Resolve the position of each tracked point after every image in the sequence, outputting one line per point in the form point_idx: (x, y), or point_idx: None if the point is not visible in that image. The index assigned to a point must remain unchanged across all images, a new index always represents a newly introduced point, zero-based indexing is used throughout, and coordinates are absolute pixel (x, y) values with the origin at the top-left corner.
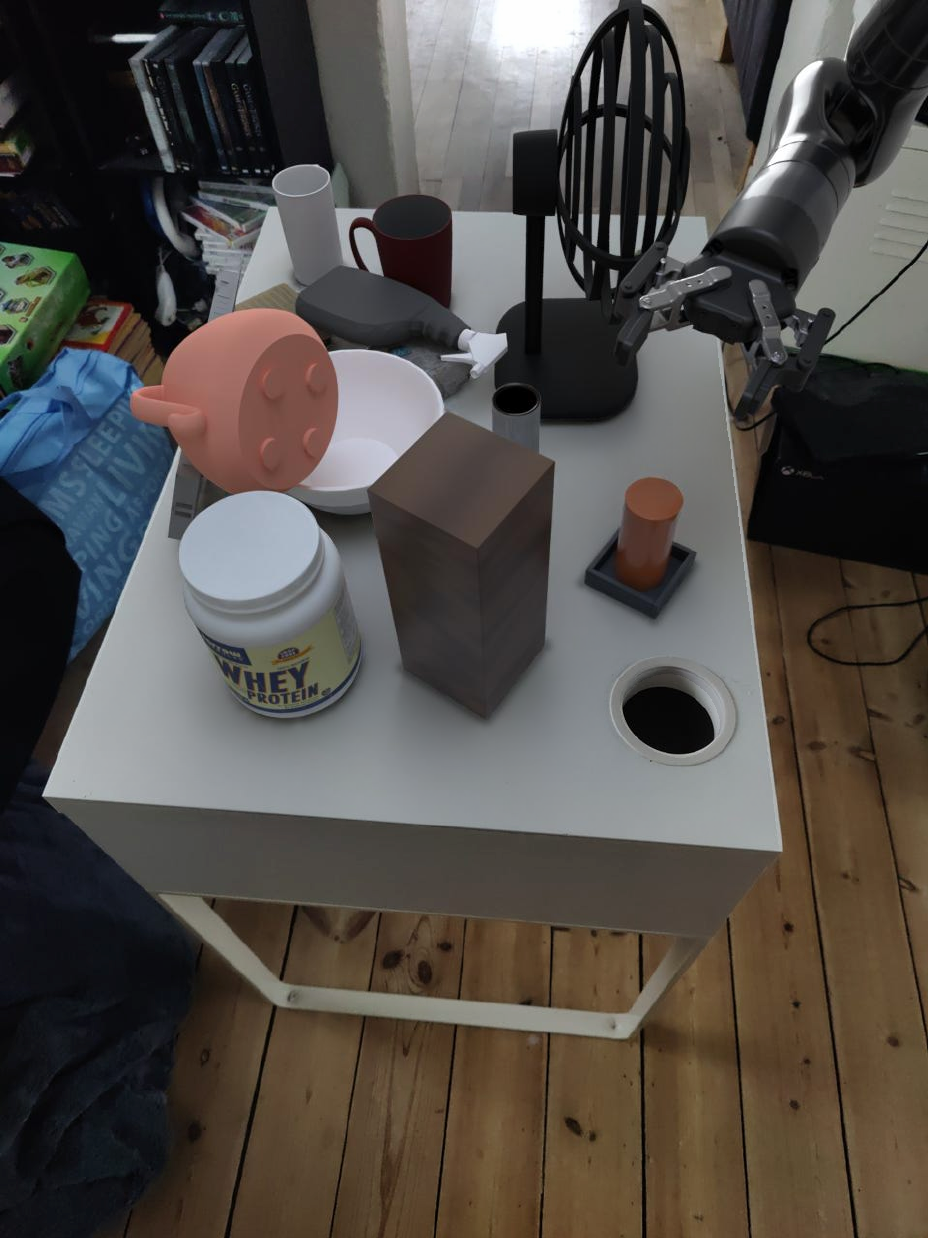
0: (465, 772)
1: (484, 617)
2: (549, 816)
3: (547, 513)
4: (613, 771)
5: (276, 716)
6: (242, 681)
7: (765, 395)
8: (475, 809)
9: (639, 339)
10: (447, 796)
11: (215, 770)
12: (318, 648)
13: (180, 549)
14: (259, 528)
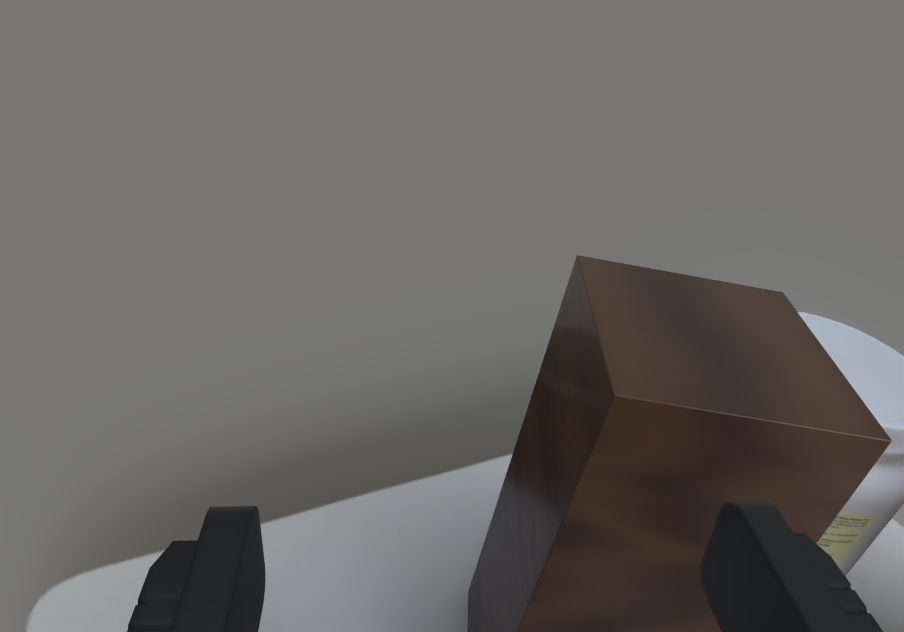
0: (449, 522)
1: (529, 406)
2: (331, 514)
3: (568, 482)
4: (273, 595)
5: None
6: None
7: (152, 573)
8: (414, 492)
9: (761, 599)
10: (450, 493)
11: None
12: None
13: (876, 340)
14: (858, 379)
